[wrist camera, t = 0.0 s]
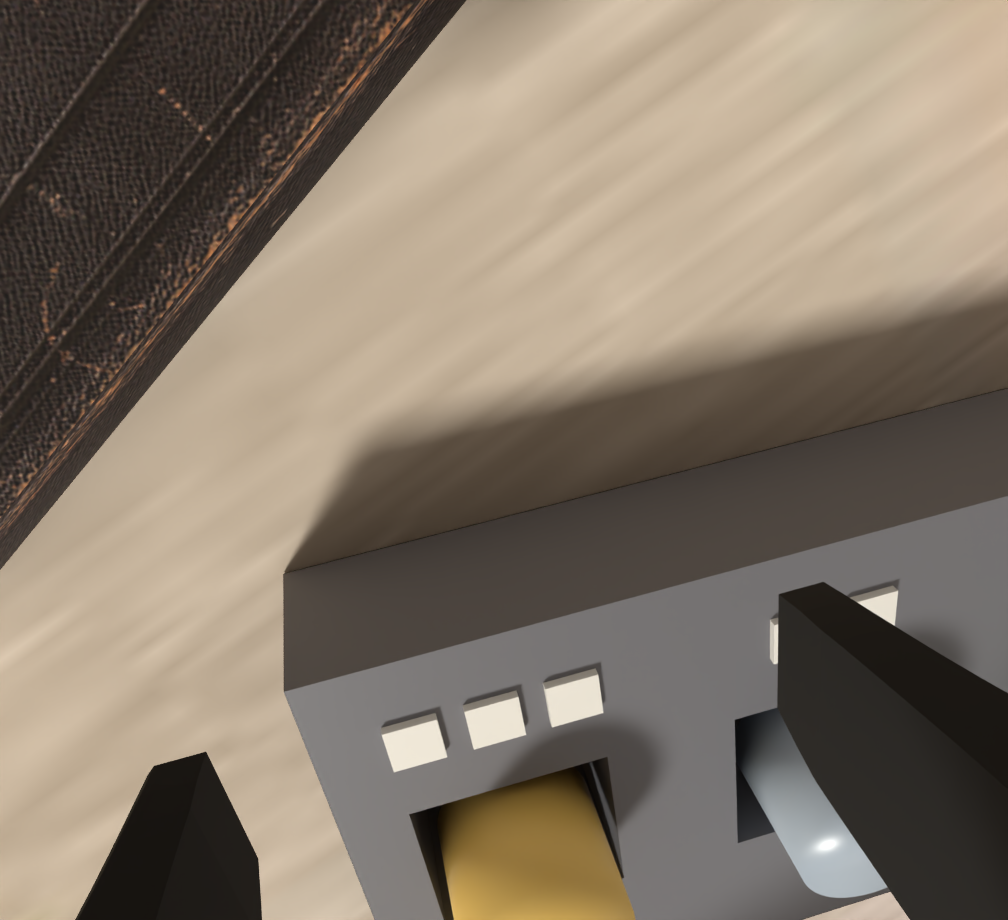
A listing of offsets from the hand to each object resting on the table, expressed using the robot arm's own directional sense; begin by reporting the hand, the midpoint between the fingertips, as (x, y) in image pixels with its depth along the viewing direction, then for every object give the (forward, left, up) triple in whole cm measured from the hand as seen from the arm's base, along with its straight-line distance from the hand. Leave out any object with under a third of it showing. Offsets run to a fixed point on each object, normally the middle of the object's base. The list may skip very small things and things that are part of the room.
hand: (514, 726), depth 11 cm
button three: (-11, 0, -7) cm, 13 cm away
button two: (-11, -8, -7) cm, 15 cm away
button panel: (-11, -8, -10) cm, 17 cm away
